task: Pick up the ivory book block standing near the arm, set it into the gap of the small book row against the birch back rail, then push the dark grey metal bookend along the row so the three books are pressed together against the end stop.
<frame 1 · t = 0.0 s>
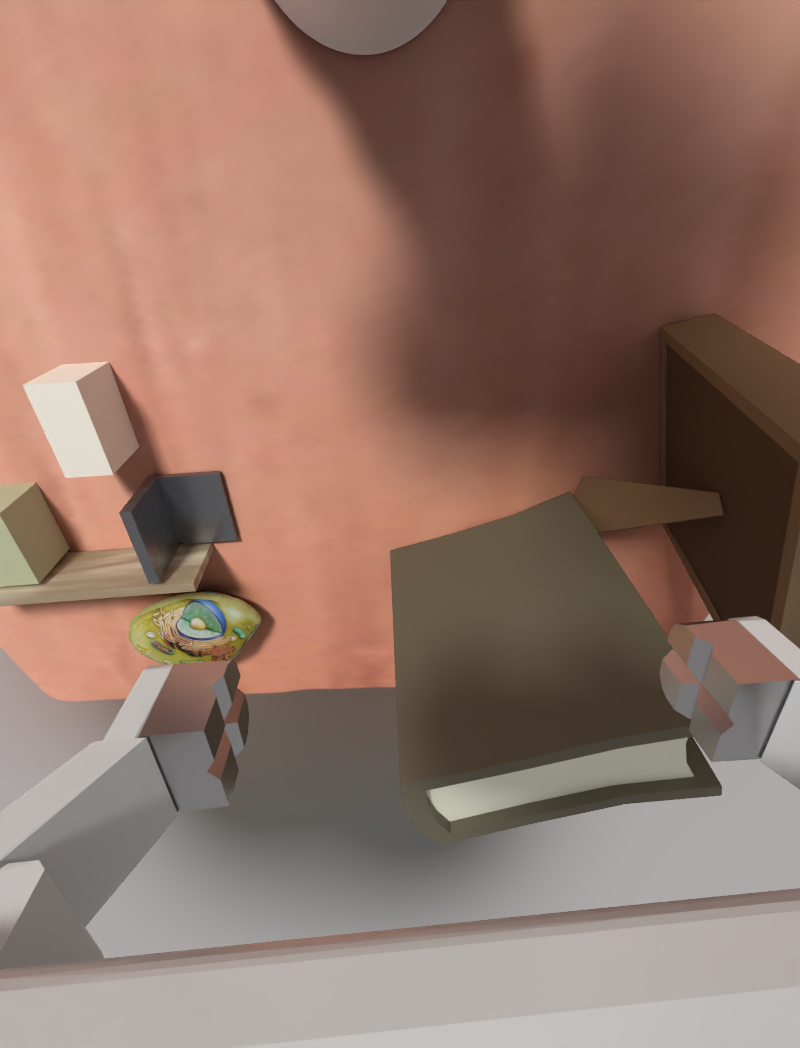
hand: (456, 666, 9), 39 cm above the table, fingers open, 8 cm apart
book olive: (34, 517, 50), on the table
bookend: (185, 526, 48), point 4 cm above the table, slide at 0.0 cm
cell model: (201, 613, 59), on the table
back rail: (73, 515, 50), on the table
book: (481, 554, 57), on the table, touching photo frame
book ivory: (103, 407, 45), on the table
photo frame: (628, 443, 50), on the table, touching book
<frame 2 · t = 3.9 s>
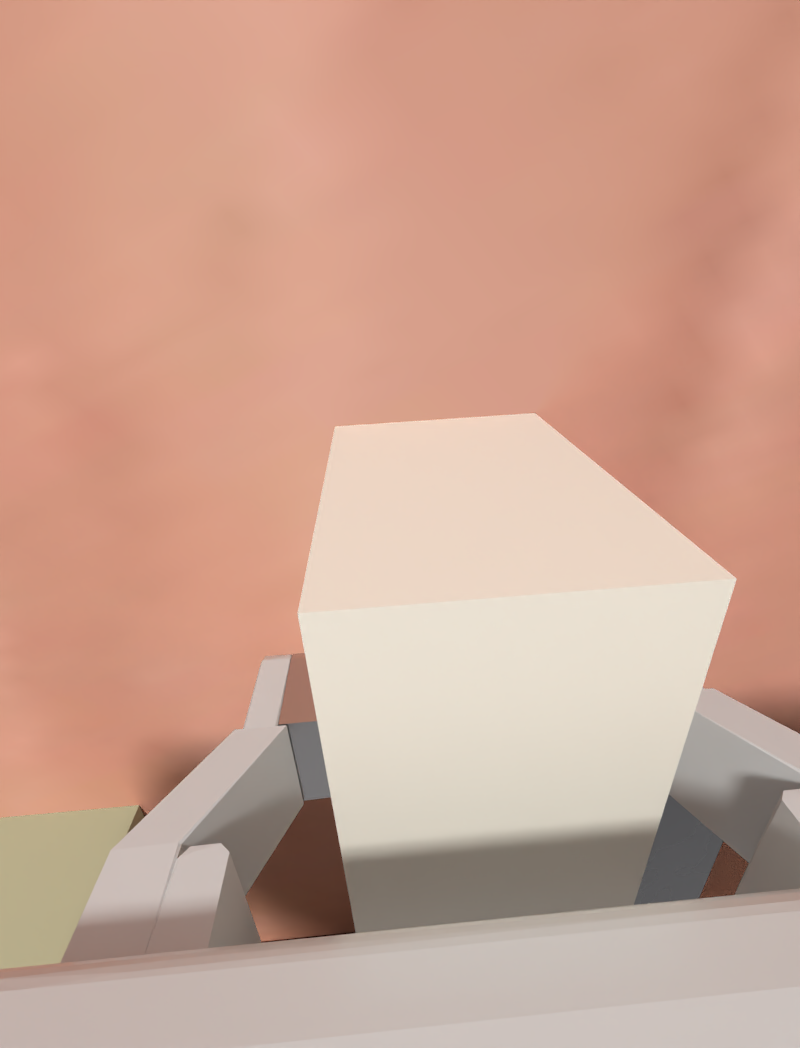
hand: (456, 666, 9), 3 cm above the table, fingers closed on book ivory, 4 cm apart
book olive: (114, 883, 16), on the table
bookend: (660, 979, 13), point 4 cm above the table, slide at 0.0 cm
book ivory: (438, 586, 12), on the table, touching gripper
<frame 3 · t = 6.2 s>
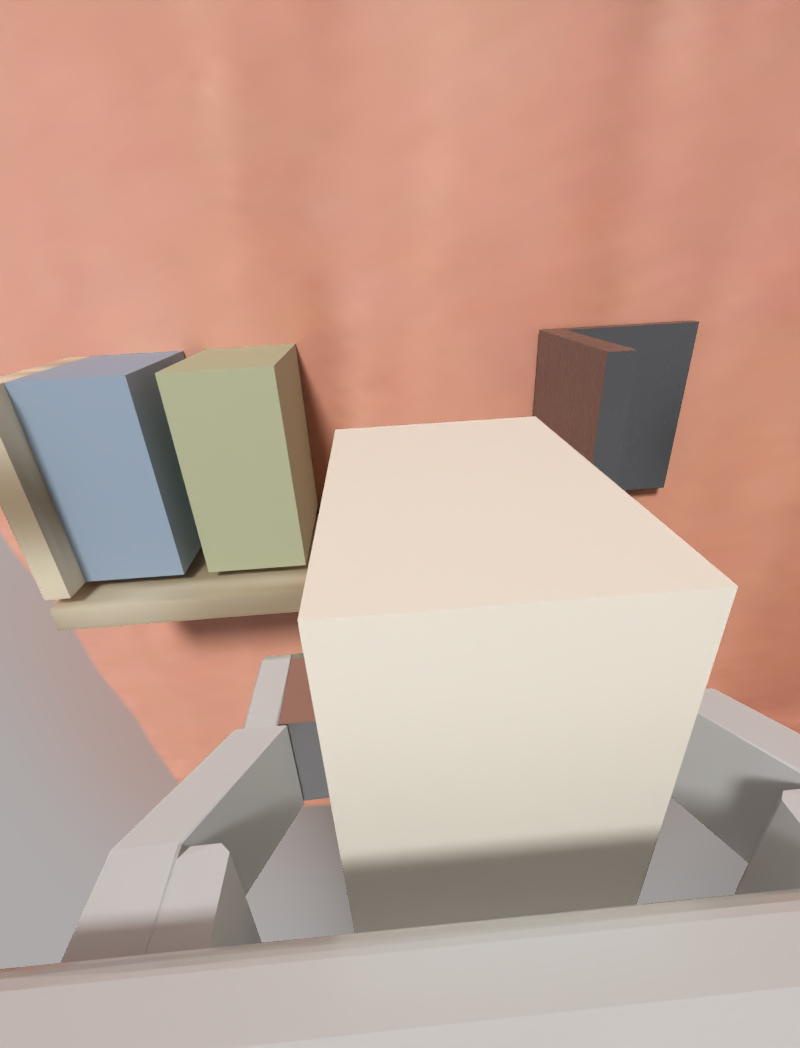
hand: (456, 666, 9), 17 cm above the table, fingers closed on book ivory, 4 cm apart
book olive: (266, 432, 24), on the table
bookend: (638, 433, 21), point 4 cm above the table, slide at 0.0 cm
book blue: (162, 440, 24), on the table
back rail: (348, 428, 24), on the table
book ivory: (438, 589, 12), point 14 cm above the table, touching gripper
when the fingers open (4 cm above the table, at t = 8.8 s): book ivory drops 2 cm, on the table.
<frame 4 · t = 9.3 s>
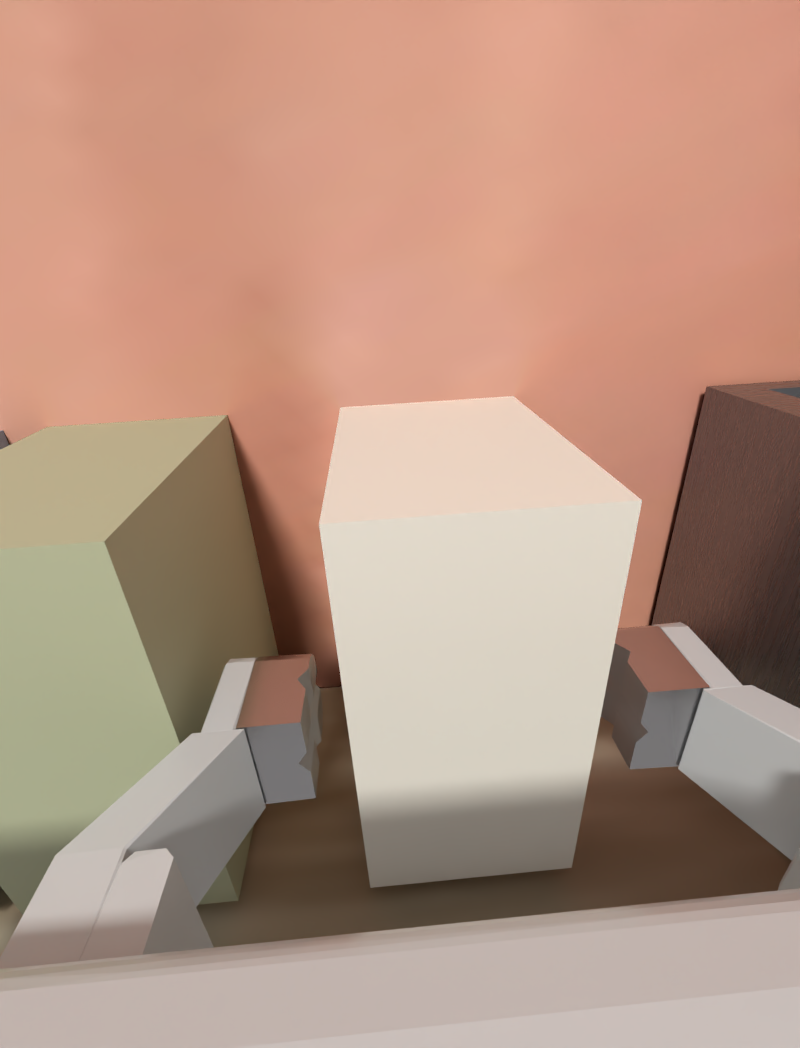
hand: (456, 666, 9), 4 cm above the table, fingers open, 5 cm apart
book olive: (183, 569, 13), on the table
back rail: (334, 560, 13), on the table
book ivory: (430, 550, 13), on the table
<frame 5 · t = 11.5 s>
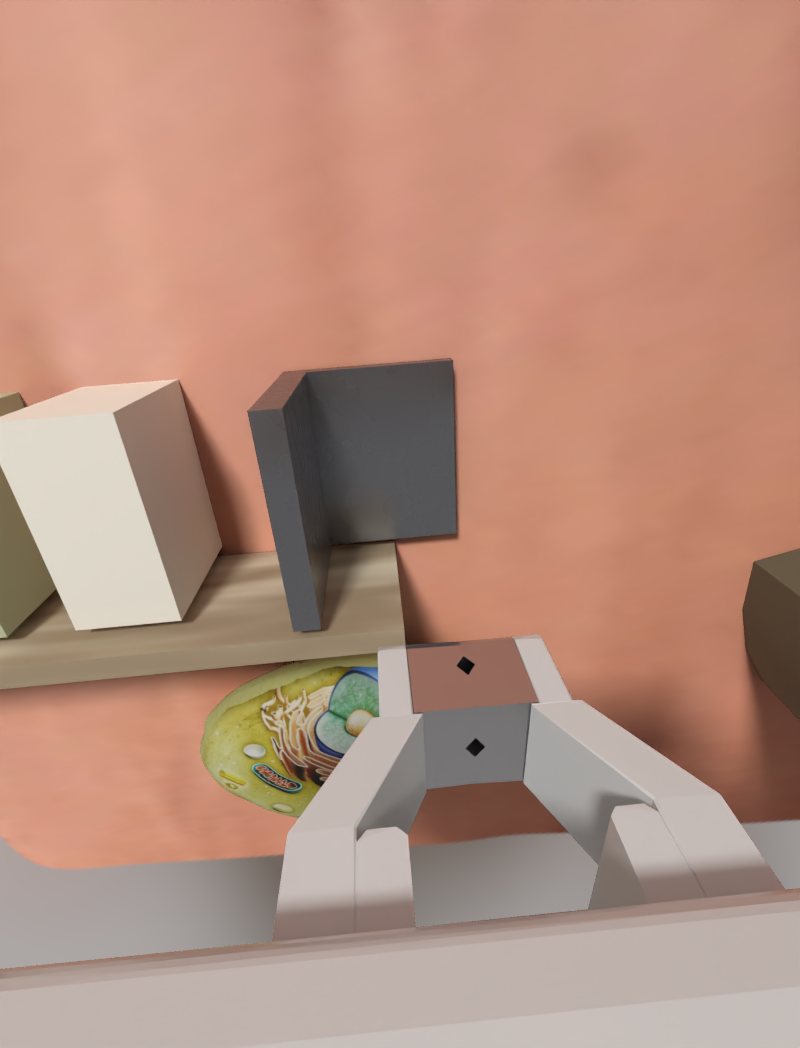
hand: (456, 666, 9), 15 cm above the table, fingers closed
book olive: (11, 485, 22), on the table
bookend: (377, 484, 19), point 4 cm above the table, slide at 0.0 cm
cell model: (339, 695, 29), on the table
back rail: (100, 478, 22), on the table
book ivory: (158, 472, 22), on the table
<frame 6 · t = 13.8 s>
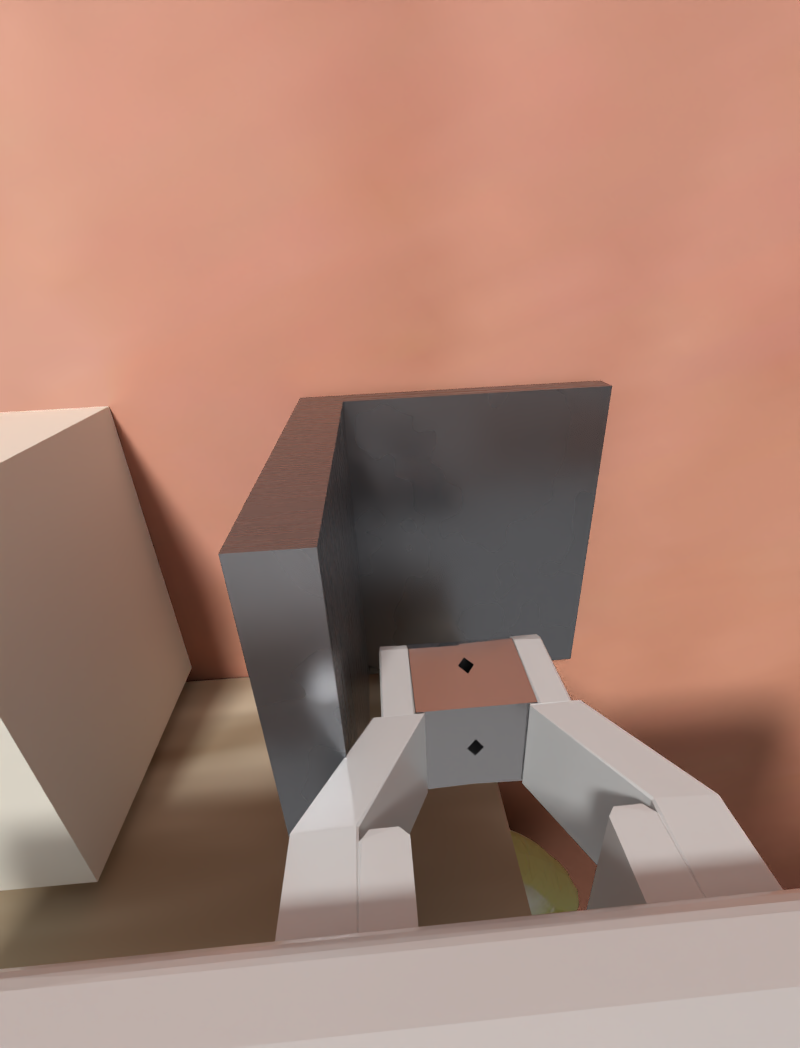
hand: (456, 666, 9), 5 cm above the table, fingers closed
bookend: (477, 622, 10), point 4 cm above the table, slide at 0.0 cm, touching gripper
cell model: (363, 849, 20), on the table
book ivory: (81, 558, 13), on the table
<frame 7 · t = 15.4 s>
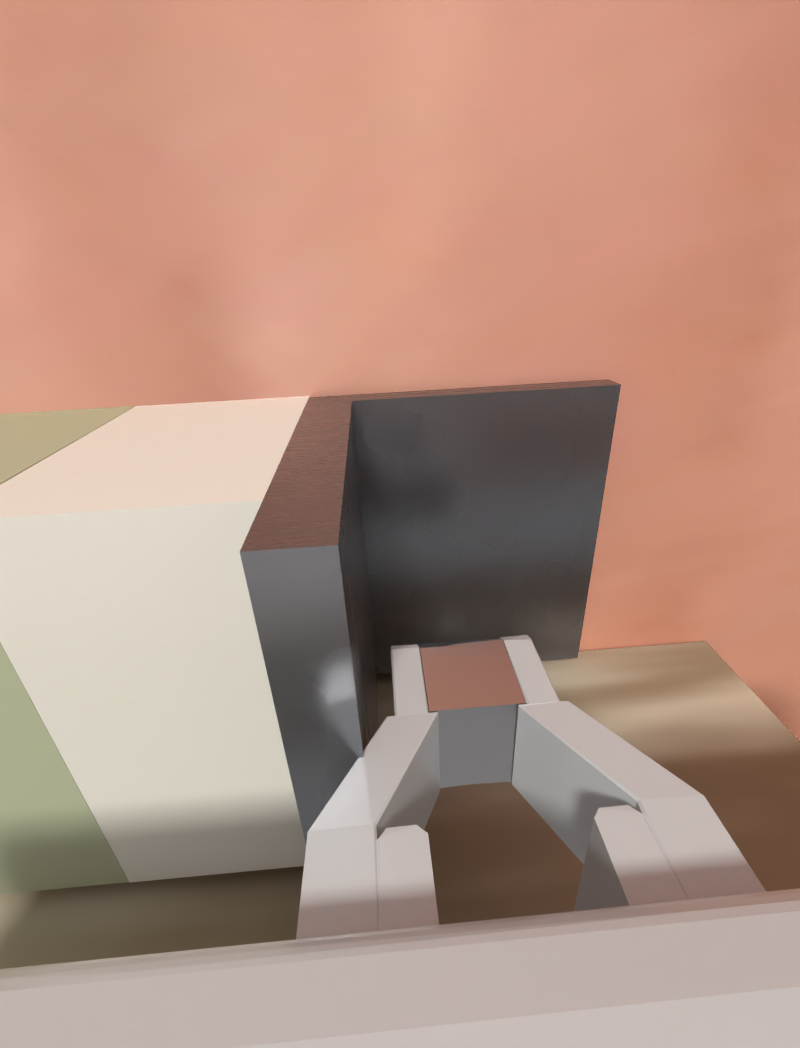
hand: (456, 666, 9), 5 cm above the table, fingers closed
book olive: (104, 558, 13), on the table
bookend: (488, 621, 10), point 4 cm above the table, slide at 7.6 cm, touching gripper
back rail: (275, 548, 13), on the table
book ivory: (255, 548, 13), on the table
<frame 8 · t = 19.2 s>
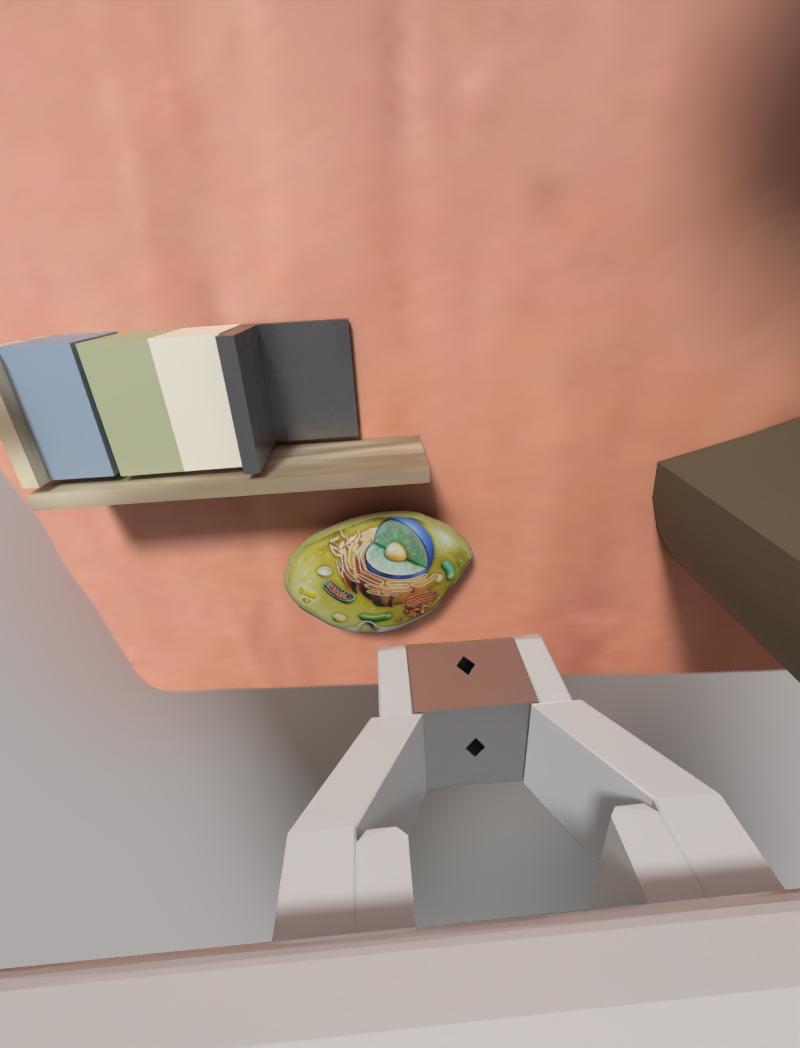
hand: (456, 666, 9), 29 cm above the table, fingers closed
book olive: (168, 390, 35), on the table
bookend: (298, 393, 32), point 4 cm above the table, slide at 7.5 cm
cell model: (375, 553, 42), on the table
book blue: (106, 393, 35), on the table
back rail: (234, 386, 35), on the table
book: (776, 469, 41), on the table, touching photo frame
book ivory: (225, 386, 35), on the table
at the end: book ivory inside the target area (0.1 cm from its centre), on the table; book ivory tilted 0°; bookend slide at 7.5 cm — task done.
